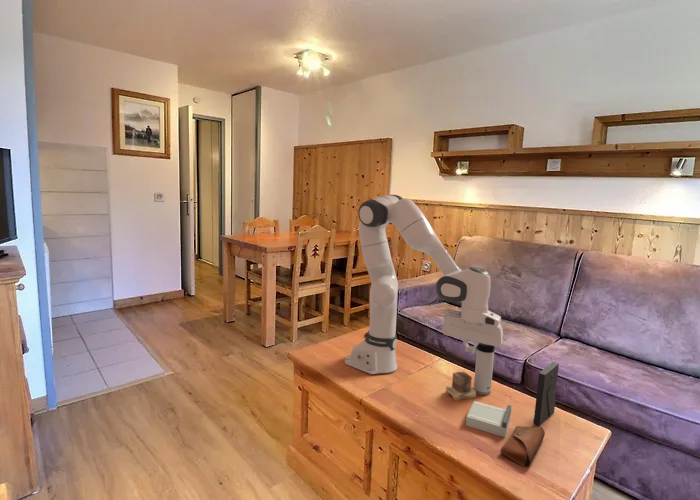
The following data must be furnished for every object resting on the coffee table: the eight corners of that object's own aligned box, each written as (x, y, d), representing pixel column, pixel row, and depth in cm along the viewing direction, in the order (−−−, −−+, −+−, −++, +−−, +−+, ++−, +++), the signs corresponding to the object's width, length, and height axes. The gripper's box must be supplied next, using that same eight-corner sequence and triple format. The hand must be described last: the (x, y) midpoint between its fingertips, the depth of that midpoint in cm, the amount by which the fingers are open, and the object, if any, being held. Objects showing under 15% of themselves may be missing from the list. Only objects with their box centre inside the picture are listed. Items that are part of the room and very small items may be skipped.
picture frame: (547, 409, 139) (553, 361, 137) (554, 412, 137) (560, 364, 135) (533, 423, 130) (538, 372, 127) (540, 426, 128) (546, 375, 126)
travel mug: (492, 396, 147) (497, 345, 144) (474, 394, 148) (478, 343, 146) (490, 388, 153) (494, 339, 150) (472, 386, 154) (476, 337, 152)
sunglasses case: (515, 424, 126) (530, 413, 123) (533, 443, 124) (548, 432, 120) (498, 451, 112) (514, 440, 109) (517, 474, 109) (534, 463, 106)
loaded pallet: (454, 400, 143) (456, 379, 142) (445, 392, 149) (447, 372, 148) (475, 397, 146) (477, 377, 145) (466, 389, 152) (467, 370, 151)
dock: (465, 425, 127) (466, 411, 127) (473, 408, 138) (474, 395, 137) (505, 437, 122) (506, 422, 121) (510, 419, 132) (511, 405, 131)
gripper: (442, 310, 139) (438, 347, 141) (503, 322, 129) (498, 362, 131) (446, 306, 144) (443, 342, 146) (505, 317, 135) (501, 356, 137)
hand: (469, 352), depth 139 cm, fingers closed
